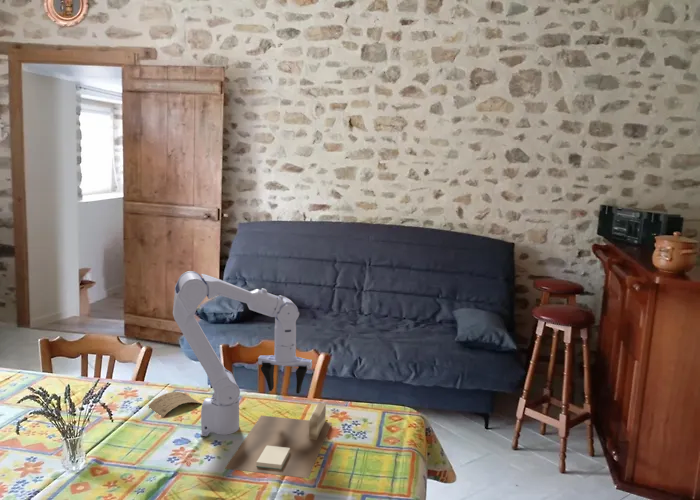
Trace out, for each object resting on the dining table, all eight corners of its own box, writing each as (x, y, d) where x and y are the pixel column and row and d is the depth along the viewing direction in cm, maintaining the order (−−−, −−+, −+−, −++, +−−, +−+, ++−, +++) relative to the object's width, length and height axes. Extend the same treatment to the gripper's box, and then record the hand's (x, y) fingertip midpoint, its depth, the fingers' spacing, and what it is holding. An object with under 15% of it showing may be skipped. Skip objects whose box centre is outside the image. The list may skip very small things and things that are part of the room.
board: (224, 472, 142) (224, 468, 142) (261, 418, 170) (261, 415, 169) (308, 482, 139) (308, 478, 139) (331, 426, 166) (331, 422, 166)
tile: (266, 449, 151) (256, 466, 143) (266, 445, 151) (256, 462, 143) (290, 452, 150) (281, 469, 142) (290, 447, 150) (281, 464, 142)
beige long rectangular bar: (309, 439, 157) (309, 421, 156) (318, 419, 168) (318, 402, 167) (316, 439, 157) (317, 421, 156) (325, 420, 167) (325, 403, 166)
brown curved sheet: (161, 420, 168) (161, 411, 168) (142, 409, 175) (142, 400, 175) (206, 404, 179) (205, 396, 178) (186, 394, 186) (186, 386, 185)
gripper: (314, 340, 166) (314, 387, 169) (263, 336, 168) (263, 382, 171) (309, 349, 159) (308, 397, 162) (255, 344, 162) (255, 392, 164)
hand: (284, 390), depth 166 cm, fingers open, 7 cm apart
